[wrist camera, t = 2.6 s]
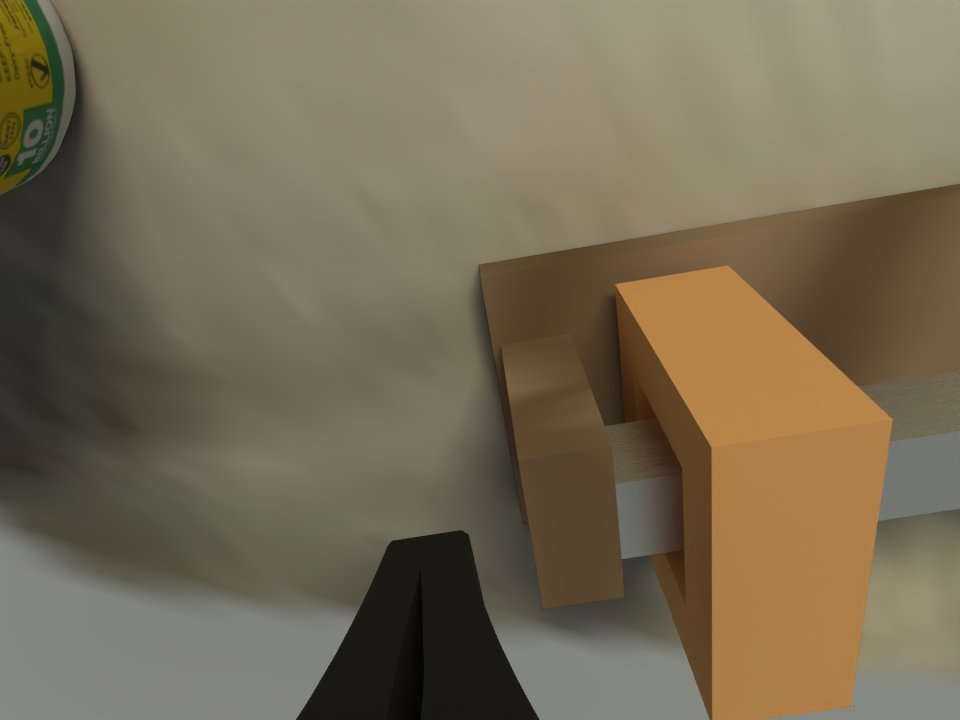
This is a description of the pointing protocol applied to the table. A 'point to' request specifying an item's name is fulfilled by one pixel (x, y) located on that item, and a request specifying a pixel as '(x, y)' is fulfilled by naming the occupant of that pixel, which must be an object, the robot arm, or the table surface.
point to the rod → (907, 482)
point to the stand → (740, 245)
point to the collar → (757, 491)
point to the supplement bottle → (32, 89)
